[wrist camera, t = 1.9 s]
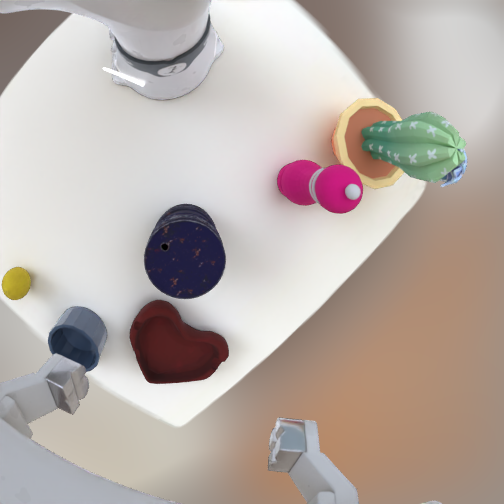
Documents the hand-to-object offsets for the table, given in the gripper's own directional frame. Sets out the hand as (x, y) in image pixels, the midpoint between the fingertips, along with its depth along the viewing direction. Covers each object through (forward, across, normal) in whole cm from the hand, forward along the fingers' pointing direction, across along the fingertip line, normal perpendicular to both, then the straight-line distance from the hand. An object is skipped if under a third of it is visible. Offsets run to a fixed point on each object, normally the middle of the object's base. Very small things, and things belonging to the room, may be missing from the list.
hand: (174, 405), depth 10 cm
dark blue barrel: (+38, +10, +6) cm, 39 cm away
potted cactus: (+47, -16, -15) cm, 51 cm away
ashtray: (+36, +10, +27) cm, 46 cm away
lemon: (+28, +39, +17) cm, 52 cm away
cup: (+31, +27, +26) cm, 49 cm away
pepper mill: (+43, -6, -6) cm, 44 cm away
